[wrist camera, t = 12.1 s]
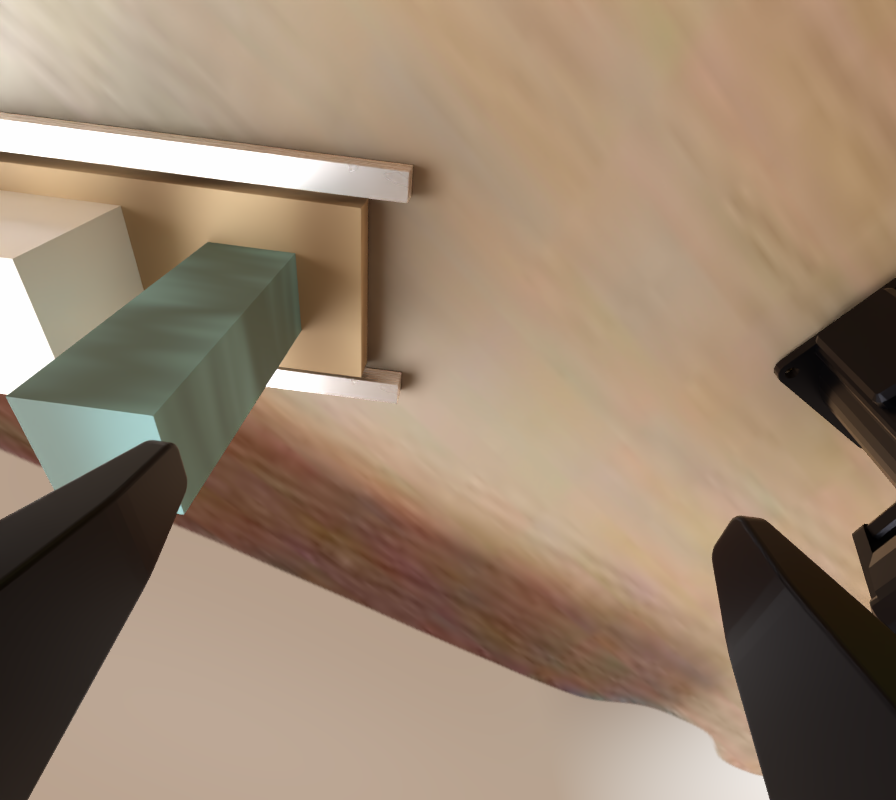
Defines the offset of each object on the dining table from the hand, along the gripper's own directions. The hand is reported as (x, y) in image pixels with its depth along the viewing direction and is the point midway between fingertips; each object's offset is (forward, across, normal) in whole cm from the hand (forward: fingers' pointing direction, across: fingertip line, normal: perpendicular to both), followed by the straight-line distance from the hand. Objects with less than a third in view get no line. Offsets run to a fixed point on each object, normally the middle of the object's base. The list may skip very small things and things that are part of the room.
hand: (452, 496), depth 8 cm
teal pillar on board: (+13, +12, +3) cm, 18 cm away
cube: (+12, +15, +3) cm, 19 cm away
